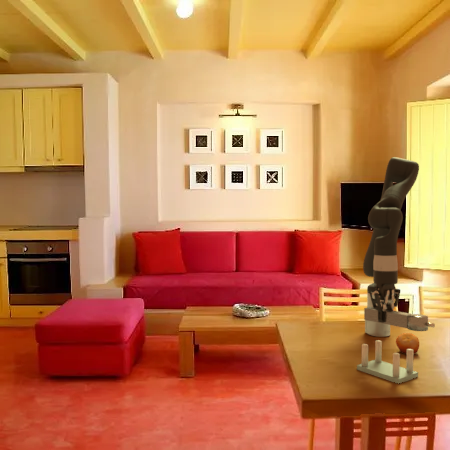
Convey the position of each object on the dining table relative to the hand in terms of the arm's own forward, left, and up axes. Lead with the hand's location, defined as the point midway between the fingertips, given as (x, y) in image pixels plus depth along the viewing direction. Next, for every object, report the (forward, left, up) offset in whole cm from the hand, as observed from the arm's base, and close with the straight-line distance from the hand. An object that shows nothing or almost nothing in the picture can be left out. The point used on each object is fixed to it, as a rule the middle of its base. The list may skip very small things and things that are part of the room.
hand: (385, 321), depth 164 cm
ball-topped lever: (+5, 0, 0) cm, 5 cm away
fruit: (-7, +22, -17) cm, 28 cm away
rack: (+2, -2, -16) cm, 17 cm away
